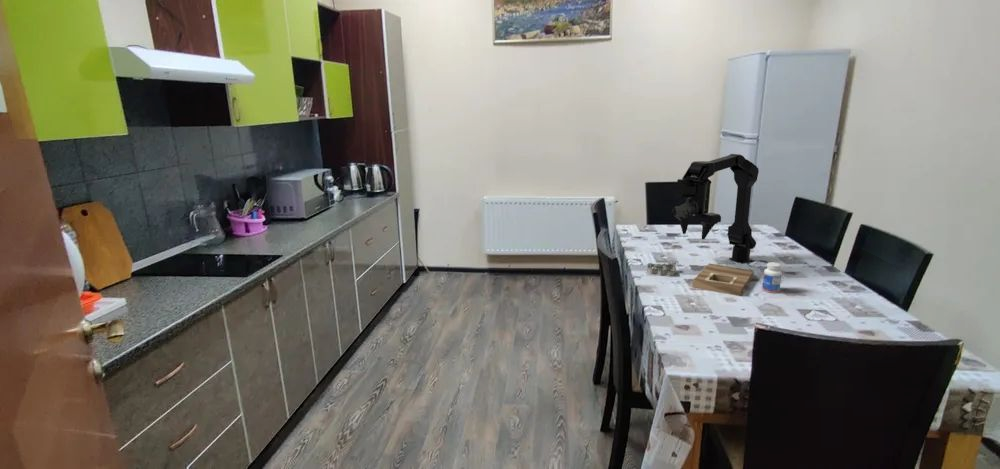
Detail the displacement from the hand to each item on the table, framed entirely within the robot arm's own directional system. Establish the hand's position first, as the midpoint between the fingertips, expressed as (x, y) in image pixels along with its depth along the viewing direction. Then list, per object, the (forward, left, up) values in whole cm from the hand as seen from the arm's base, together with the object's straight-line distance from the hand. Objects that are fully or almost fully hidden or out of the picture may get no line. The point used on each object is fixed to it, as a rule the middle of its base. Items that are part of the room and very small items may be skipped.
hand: (693, 236), depth 189 cm
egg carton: (+10, -5, -15) cm, 19 cm away
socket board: (-3, +13, -15) cm, 20 cm away
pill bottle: (-11, +27, -15) cm, 32 cm away
